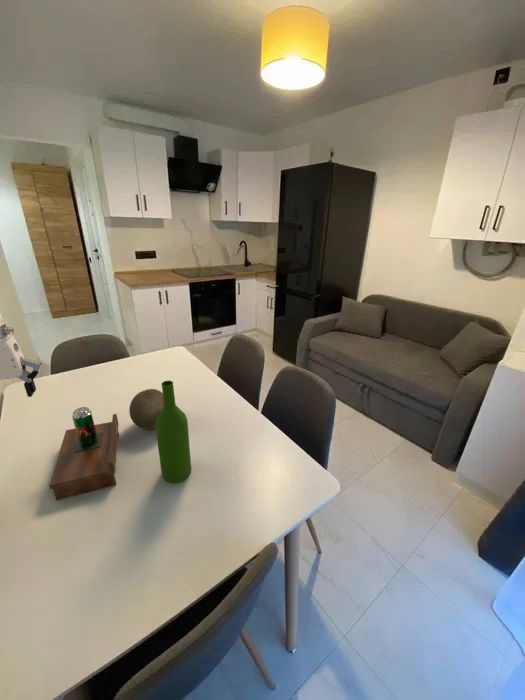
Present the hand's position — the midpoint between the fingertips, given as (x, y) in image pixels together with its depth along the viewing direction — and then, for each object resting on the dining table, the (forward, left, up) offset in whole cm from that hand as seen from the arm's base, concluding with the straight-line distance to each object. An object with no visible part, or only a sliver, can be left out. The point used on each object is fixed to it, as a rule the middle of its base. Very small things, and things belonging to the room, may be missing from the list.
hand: (8, 397), depth 73 cm
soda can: (+13, +7, -24) cm, 28 cm away
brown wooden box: (+13, +4, -30) cm, 33 cm away
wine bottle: (+38, -9, -30) cm, 49 cm away
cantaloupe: (+32, +17, -30) cm, 47 cm away
